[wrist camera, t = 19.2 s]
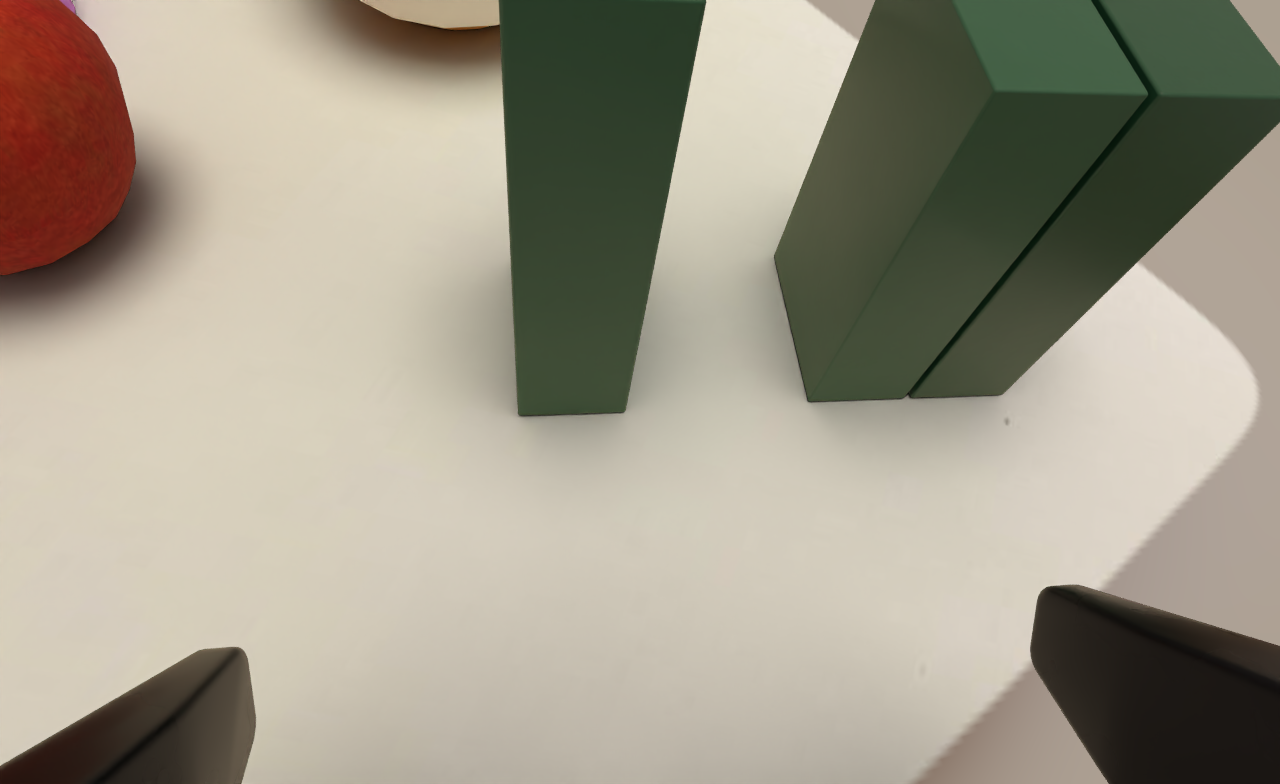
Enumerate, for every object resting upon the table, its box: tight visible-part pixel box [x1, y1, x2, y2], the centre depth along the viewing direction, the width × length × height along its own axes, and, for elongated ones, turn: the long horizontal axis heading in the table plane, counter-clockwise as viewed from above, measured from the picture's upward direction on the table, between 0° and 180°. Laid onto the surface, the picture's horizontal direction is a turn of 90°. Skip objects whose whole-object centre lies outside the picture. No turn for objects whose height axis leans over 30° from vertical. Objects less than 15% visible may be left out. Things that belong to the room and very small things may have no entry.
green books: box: [774, 0, 1280, 401], centre depth 20 cm, size 6×6×11 cm
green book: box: [499, 0, 706, 416], centre depth 18 cm, size 6×3×12 cm, turn 6°
